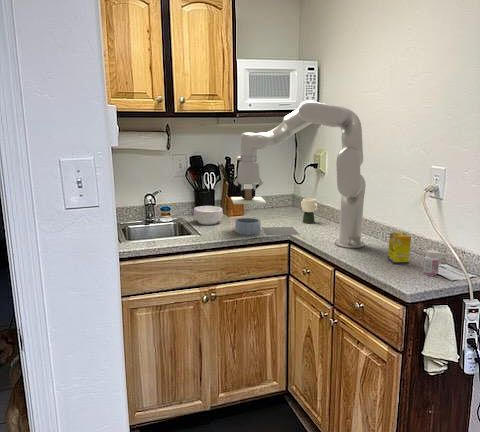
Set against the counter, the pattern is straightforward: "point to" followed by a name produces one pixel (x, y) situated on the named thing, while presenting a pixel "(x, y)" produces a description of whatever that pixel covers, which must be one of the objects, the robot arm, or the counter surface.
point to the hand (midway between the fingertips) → (248, 197)
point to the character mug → (309, 209)
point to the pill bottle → (431, 262)
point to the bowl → (247, 226)
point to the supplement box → (399, 248)
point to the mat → (280, 231)
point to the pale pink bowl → (208, 214)
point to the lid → (248, 198)
